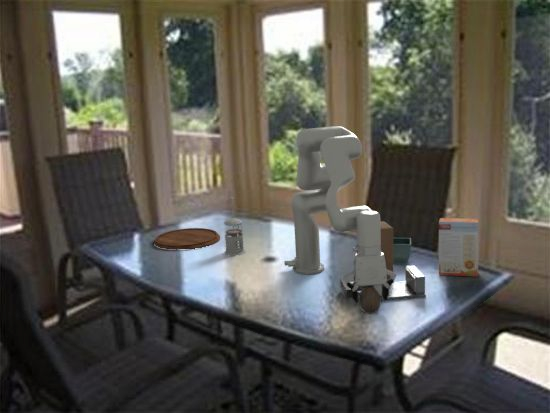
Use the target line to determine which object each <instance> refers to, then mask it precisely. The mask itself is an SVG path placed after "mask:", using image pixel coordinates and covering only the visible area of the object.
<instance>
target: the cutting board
mask: <svg viewBox="0 0 550 413" xmlns="http://www.w3.org/2000/svg"><path fill="white" fill-rule="evenodd" d="M220 240H221V236H220V234H219V233H218V232H217V231H216V230H214V229H211V228H204V227H203V228H202V227H189V228H179V229H175V230H169V231H166V232H163V233H161V234H158V235H157V236H156V237H155V238H154V240H153V241H154V244H155V245H156V246H158V247H160V248H166V249H176V250H177V249H194V250H196V249H195V248H200V249H203V248H202V247H204V248H207V247H206V246H208V247H210V245H211V246H213V245H215V244H216V243H218V242H220Z"/></svg>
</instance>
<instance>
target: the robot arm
mask: <svg viewBox="0 0 550 413" xmlns="http://www.w3.org/2000/svg"><path fill="white" fill-rule="evenodd" d="M295 143H296V144H295V145H296V149H297V154H298V158H297V159H298V160H297V167H296V168H297V171H296V185H297V187H298V189H300V191H299V192H295V193H294V194H293V195H292V196H291V199H290V208H291V212H292V217H293V224H294V241H295V242H294V245H295V257H294V259H292V260H284V266H285V267H286V266H288V267H289V268H291V267H292V271H293V272H294V273H296V274H300V275H313V274H319V273H322V272H323V271H324V270H325V265H324V264H323V263H321V252H320V251H321V249H320V247H321V246H320V227H319V223H318V222H317V220H316V219H314V217H313V216H314V215H320V214H327V215H328V219H329V222H330V224H331V226H332V228H333V230H335V231H336V232H339V233H344V232H349V231H350V232H351V231H356V245H355V247H352V252H355V255H354V261H353V271H352V272H350V273H348V274H347V275H345V276H343V277H342V279H343V280H344V281H345V283H346V285H347V286H348V287H349V288H350V289H351V290H352V298H351V300H353V301H354V302H355V304H357V303H359V297H358V292H357V291H358V290H357V289H358V288H359V286H371V285H382V284H383V285H384V286H383V298H384V299H385V300H387V297H389V288H390V286H391V285H392V283H393V282H395V279H396V278H397V275H398V274H397V273H396V272H392V271H390V270H387V269H386V263H385V257H384V253H382V252H381V225H380V222H381V215H380V212H378V211H376V210H373V209H371V207H369V206H367V205H358V206H349V207H344V208H340V205H339V203H338V198H337V196H338V192H339V191H340V190H342V189H343V188H346V187H347V186H348V185H349V184H351V183H353V181H355V179H356V173H355V171H354V170H355V169H354V168H353V165H352V162H351V160H356V159H359V158H360V157H361V156H362V153H363V145H362V142H361V140H360V139H359V137H358V136H357V135H356V134H355V133H353V132H351V131H350V130H349V129H347V128H345V127H343V126H341V125H340V126H334V125H333V126H326V127H325V126H323V127H314V128H313V127H311V128H305V129H301V130H300V131H299V132H298V133H297V135H296V139H295ZM322 160H323V163H322ZM301 190H302V191H301ZM288 267H287V268H288ZM387 274H388V275H390V276H391V277H390V279H389V280H387ZM352 278H353V281H352V282H353V284H351V283H350V282H351V281H350V280H351V279H352Z"/></svg>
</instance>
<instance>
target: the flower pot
mask: <svg viewBox="0 0 550 413" xmlns="http://www.w3.org/2000/svg"><path fill="white" fill-rule="evenodd" d="M411 250H412V238H411V237H393V265H396V264H397V265H402V264H403V265H406V264H407V263H408V261H409V260H410V256H411Z"/></svg>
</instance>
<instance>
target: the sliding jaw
mask: <svg viewBox="0 0 550 413" xmlns="http://www.w3.org/2000/svg"><path fill="white" fill-rule="evenodd" d="M339 280H340V283H339V284H340V285H339V286H340V288H341V291H342V292H343V295H344V297H345V298H346V299H352V290H351V289H350V288H349V287H348V286H347V285H346V283H345V281H344V280H343V278H340V279H339ZM349 282H350V283H351V284H353V282H354V281H349ZM373 286H374V288H375V289H376V290H377V291H378V293H379V295H380V296H382V285H373ZM359 287H364V286H359ZM359 287H358V288H359ZM357 292H358V298H359V297H360V294H361V292H362V291H361V290H357Z"/></svg>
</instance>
